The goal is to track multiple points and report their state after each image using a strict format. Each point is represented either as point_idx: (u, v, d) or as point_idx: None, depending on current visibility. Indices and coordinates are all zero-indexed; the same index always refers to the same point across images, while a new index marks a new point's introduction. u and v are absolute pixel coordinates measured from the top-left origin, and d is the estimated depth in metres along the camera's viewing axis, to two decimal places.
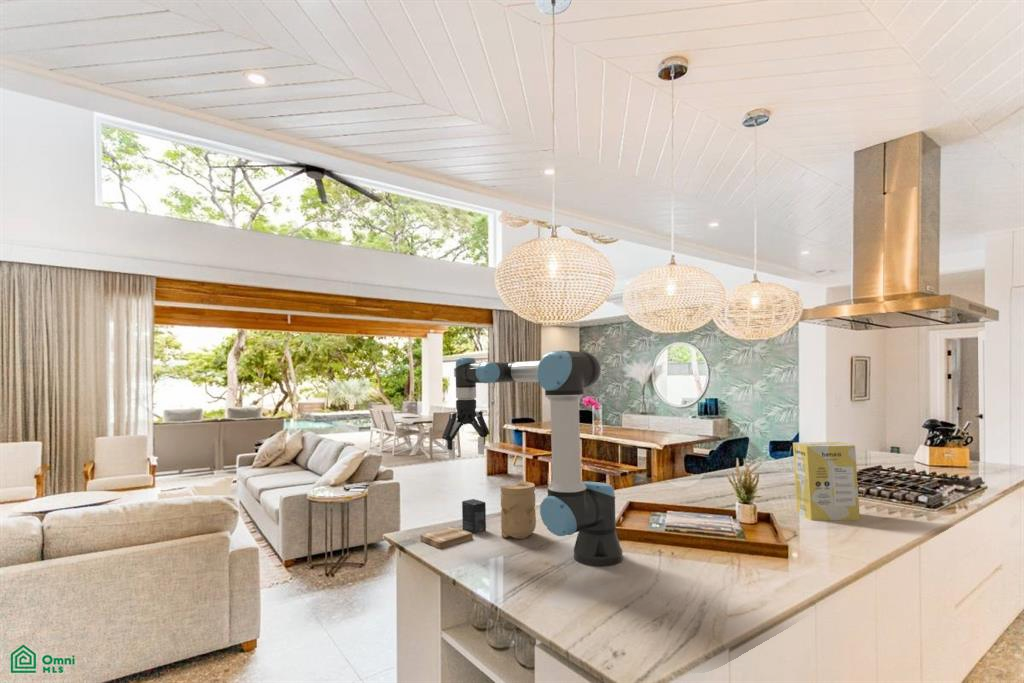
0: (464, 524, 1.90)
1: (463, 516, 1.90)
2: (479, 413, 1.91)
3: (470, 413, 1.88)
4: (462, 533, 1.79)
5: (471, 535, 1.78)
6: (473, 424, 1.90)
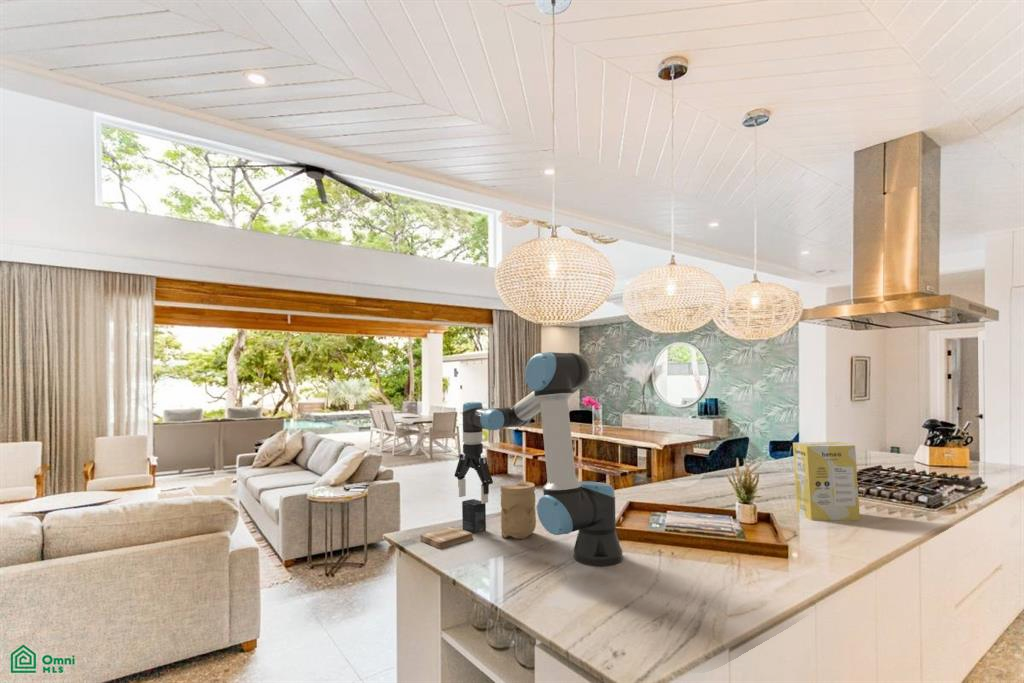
0: (464, 524, 1.90)
1: (463, 516, 1.90)
2: None
3: (472, 458, 1.90)
4: (462, 533, 1.79)
5: (471, 535, 1.78)
6: None
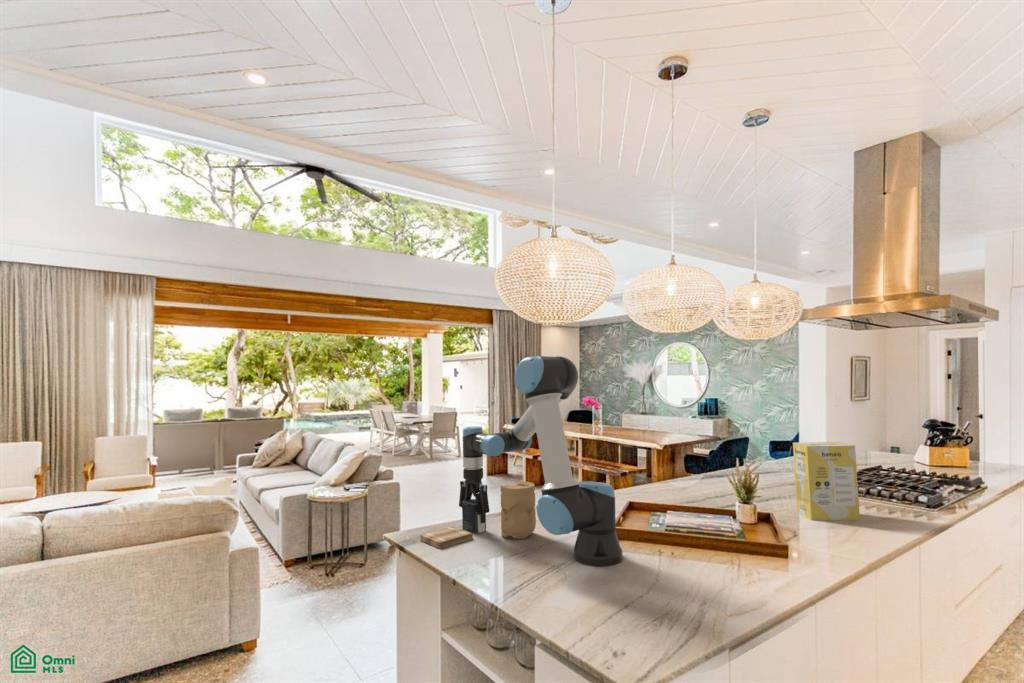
0: (464, 524, 1.90)
1: (463, 516, 1.90)
2: None
3: (473, 481, 1.89)
4: (462, 533, 1.79)
5: (471, 535, 1.78)
6: None
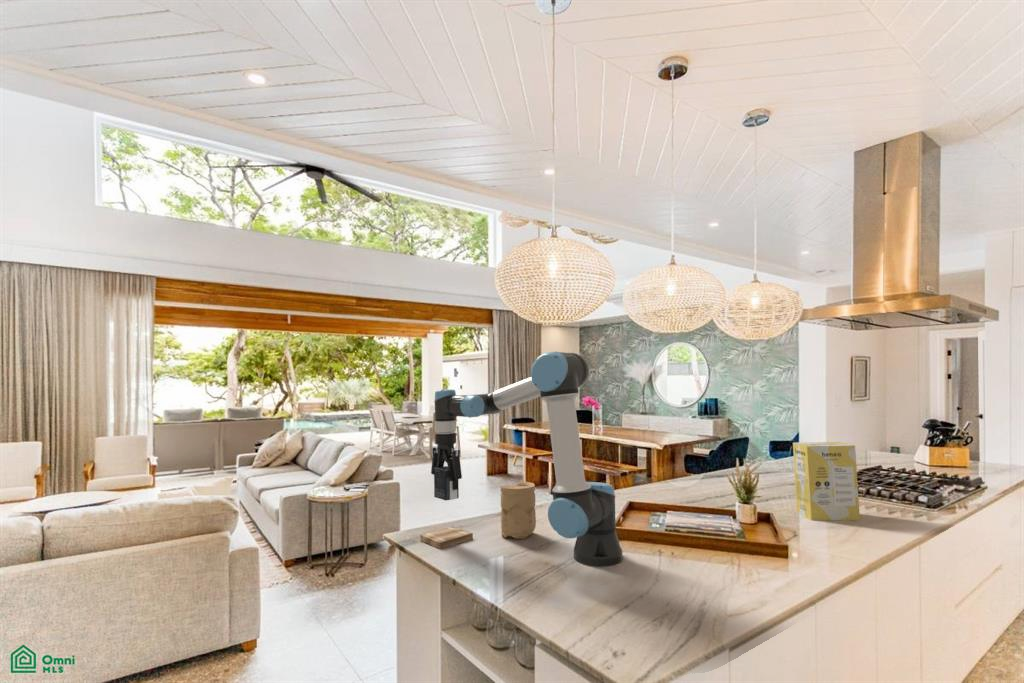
0: (435, 492, 1.80)
1: (435, 483, 1.80)
2: None
3: (445, 446, 1.79)
4: (462, 533, 1.79)
5: (471, 535, 1.78)
6: None
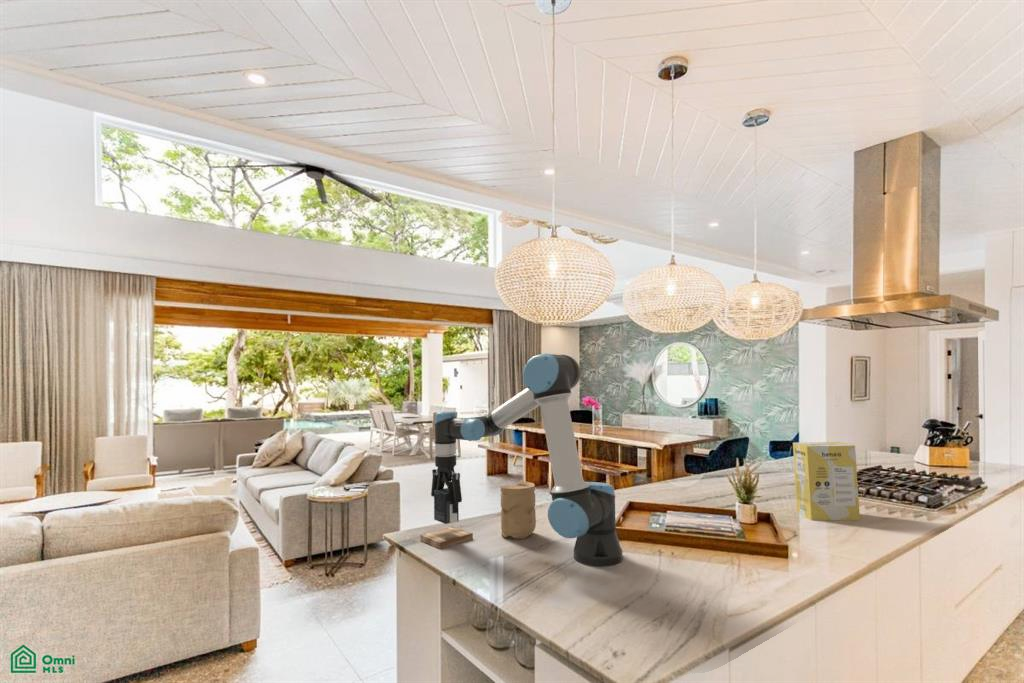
0: (435, 515, 1.79)
1: (435, 506, 1.80)
2: None
3: (445, 469, 1.78)
4: (462, 533, 1.79)
5: (471, 535, 1.78)
6: None
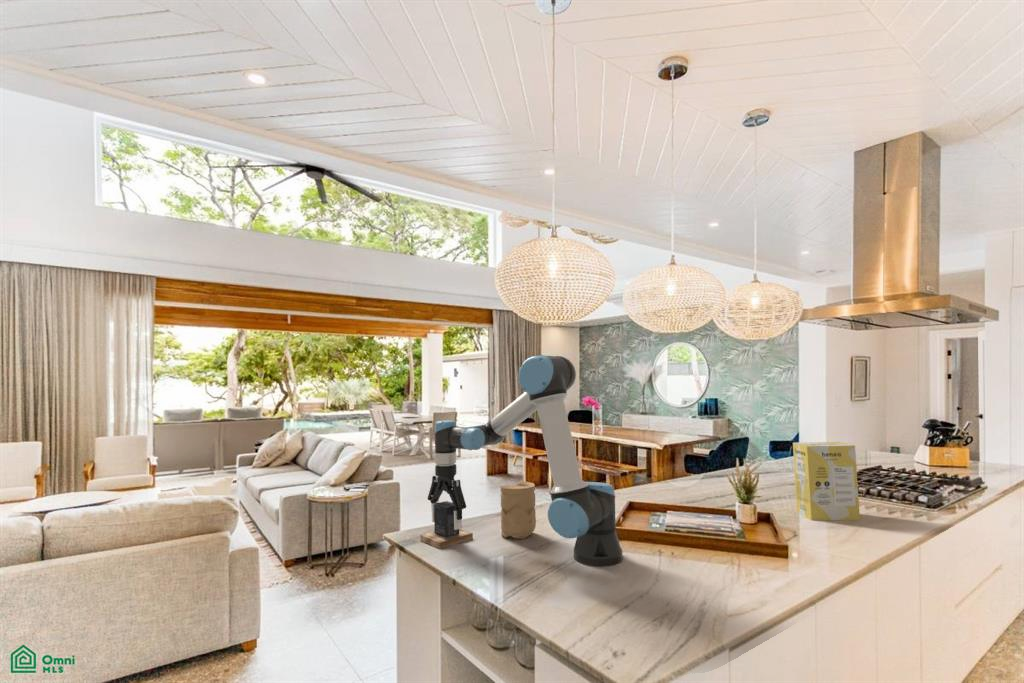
0: (436, 528, 1.79)
1: (435, 519, 1.79)
2: None
3: (445, 480, 1.78)
4: (462, 533, 1.79)
5: (471, 535, 1.78)
6: None
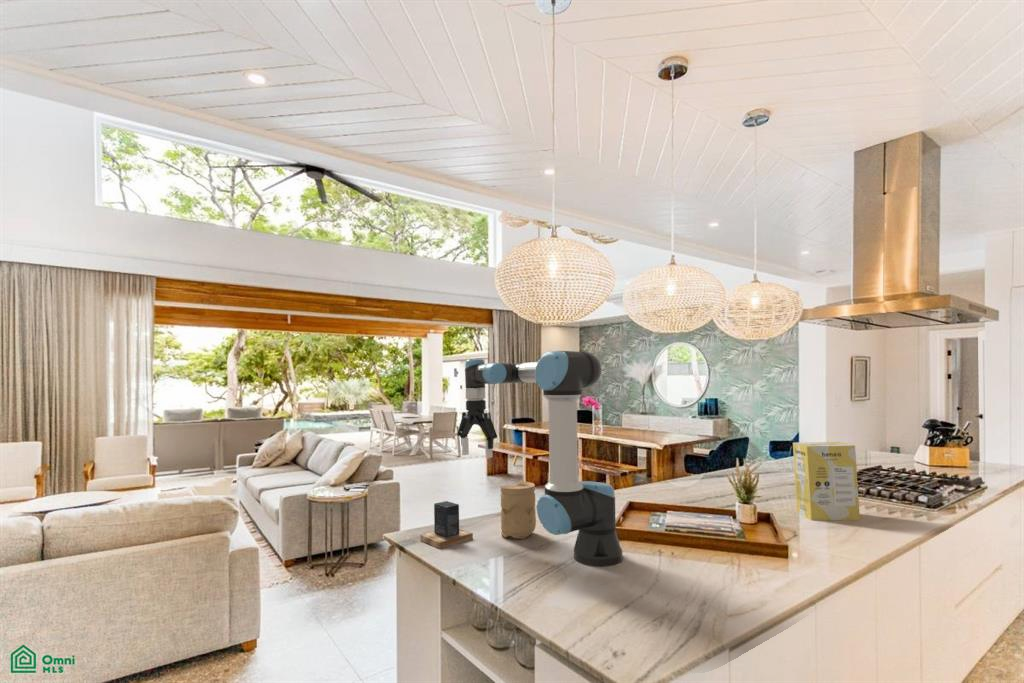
0: (436, 528, 1.79)
1: (435, 519, 1.79)
2: None
3: (475, 414, 1.90)
4: (462, 533, 1.79)
5: (471, 535, 1.78)
6: None
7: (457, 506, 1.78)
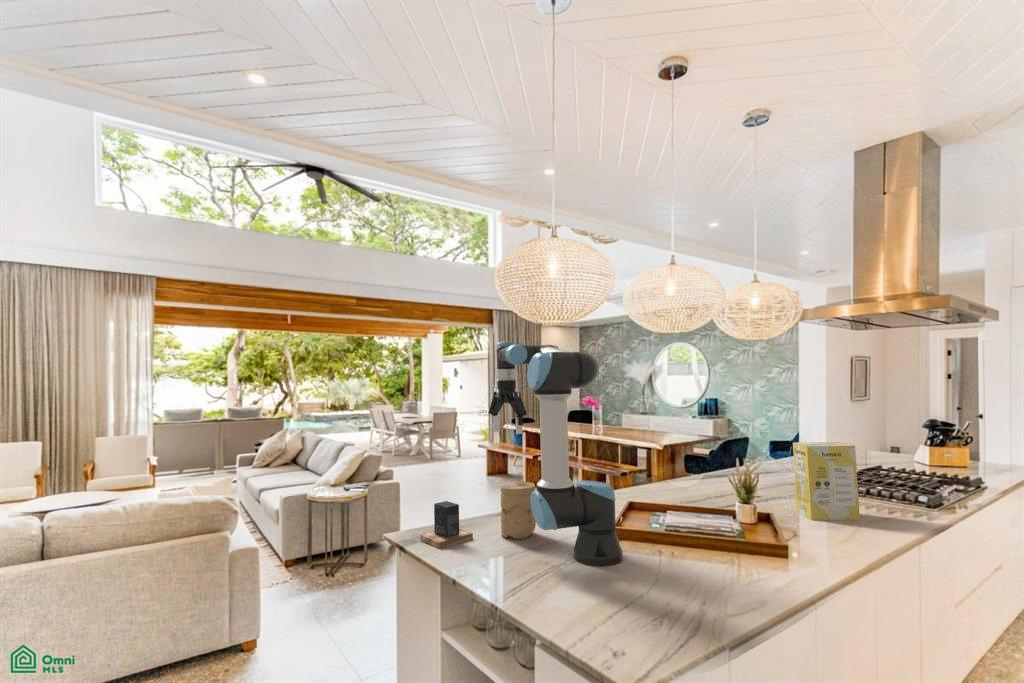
0: (436, 528, 1.79)
1: (435, 519, 1.79)
2: None
3: (506, 393, 2.02)
4: (462, 533, 1.79)
5: (471, 535, 1.78)
6: None
7: (457, 506, 1.78)
